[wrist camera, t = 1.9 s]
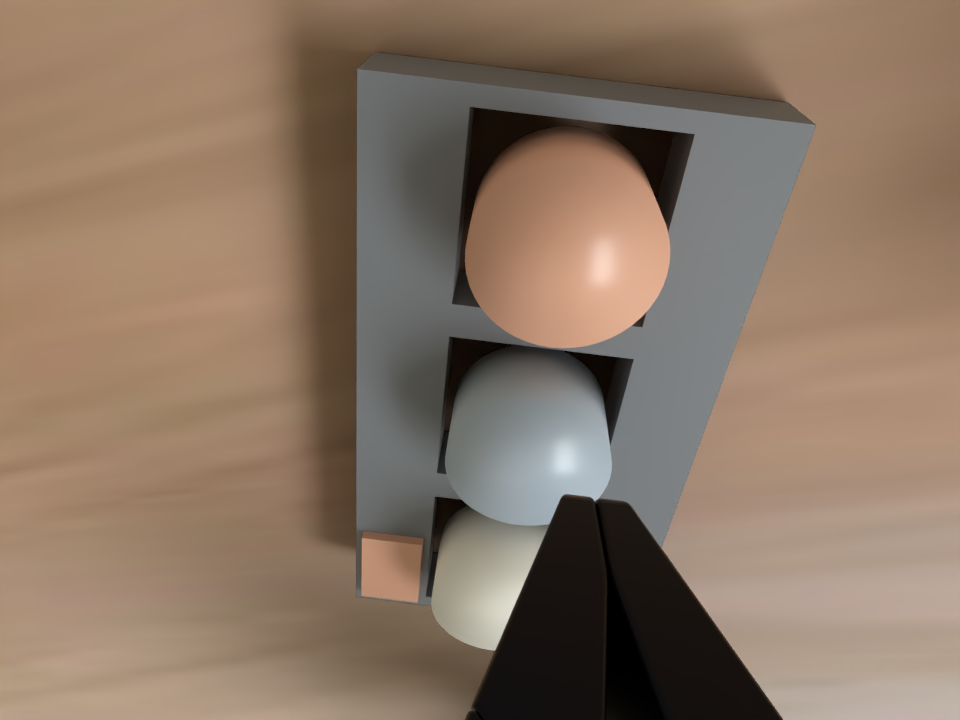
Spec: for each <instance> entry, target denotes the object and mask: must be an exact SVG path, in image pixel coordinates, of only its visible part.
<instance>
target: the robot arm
mask: <svg viewBox="0 0 960 720" xmlns="http://www.w3.org/2000/svg"><path fill="white" fill-rule="evenodd" d="M465 720H783V719H782V717H781V716H780V714H779V713H778V712H777V710H776V709H775V707H774V706H773V705H772V703H771V702H770V700H769V699H768V698H767V696H766V695H765V693H764V692H763V690H762V689H761V688H760V686H759V685H758V683H757V682H756V681H755V679H754V678H753V676H752V675H751V674H750V672H749V671H748V669H747V668H746V667H745V665H744V664H743V662H742V661H741V660H740V658H739V657H738V655H737V654H736V653H735V651H734V650H733V648H732V647H731V645H730V644H729V643H728V641H727V640H726V638H725V637H724V636H723V634H722V633H721V631H720V630H719V629H718V627H717V626H716V624H715V623H714V622H713V620H712V619H711V617H710V616H709V615H708V613H707V612H706V610H705V609H704V607H703V606H702V605H701V603H700V602H699V600H698V599H697V598H696V596H695V595H694V593H693V592H692V591H691V589H690V588H689V586H688V585H687V584H686V582H685V581H684V579H683V578H682V577H681V575H680V574H679V572H678V571H677V570H676V568H675V567H674V565H673V564H672V562H671V561H670V560H669V558H668V557H667V555H666V554H665V553H664V551H663V550H662V548H661V547H660V546H659V544H658V543H657V541H656V540H655V539H654V537H653V536H652V534H651V533H650V532H649V530H648V529H647V527H646V526H645V524H644V523H643V522H642V520H641V519H640V517H639V516H638V515H637V513H636V512H635V510H634V509H633V508H632V506H631V505H630V504H629V503H627V502H625V501H620V500H612V499H603V498H599V499H597V500H596V501H594V499H593V498H591V497H587V496H579V495H571V494H565V495H563V496H562V497H561V499H560V501H559V503H558V505H557V508H556V510H555V512H554V515H553V517H552V519H551V522H550V524H549V526H548V529H547V531H546V533H545V536H544V538H543V540H542V543H541V545H540V547H539V550H538V552H537V554H536V557H535V559H534V561H533V564H532V566H531V568H530V571H529V573H528V575H527V578H526V580H525V582H524V585H523V587H522V589H521V591H520V594H519V596H518V598H517V601H516V603H515V605H514V608H513V610H512V612H511V615H510V617H509V619H508V622H507V624H506V626H505V629H504V631H503V633H502V636H501V638H500V640H499V643H498V645H497V647H496V650H495V652H494V654H493V657H492V659H491V661H490V664H489V666H488V668H487V671H486V673H485V675H484V678H483V680H482V682H481V685H480V687H479V689H478V692H477V694H476V696H475V699H474V701H473V703H472V706H471V711H469V712H468V714H467V716H466V718H465Z"/></svg>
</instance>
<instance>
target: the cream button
mask: <svg viewBox="0 0 960 720" xmlns="http://www.w3.org/2000/svg"><path fill="white" fill-rule="evenodd" d="M548 526H549V524H547V525H538V526H524V525H514V524H508V523H504V522H500V521H497V520H494V519H492V518H489V517H487V516H485V515H483V514H481V513H479V512H477V511H476V510H474V509H472V508H471V507H470V506H468V505H467V506H465V507H463V508H461V509H460V510H458V511H457V512H456V513H454V514H453V515H452V516H451V517H450V518H449V519H448V520H447V522H446V524H445V525H444V527H443V530H442V534H441V539H440V546H439V552H438V559H437V566H436V572H435V579H434V585H433V592H432V599H431V607H432V612H433V615H434V617H435V619H436V620H437V622H438V624H439V625H440V626H441V627H442V628H443V629H444V630H445V631H446V632H447V633H449V634H450V635H451V636H453V637H454V638H456V639H458V640H460V641H462V642H464V643H466V644H468V645H471V646H474V647H478V648H482V649H486V650H492V651H495V650H496V647H497V645H498V643H499V640H500V638H501V636H502V633H503V631H504V629H505V626H506V624H507V622H508V619H509V617H510V615H511V612H512V610H513V608H514V605H515V603H516V601H517V598H518V596H519V594H520V591H521V589H522V587H523V585H524V582H525V580H526V578H527V575H528V573H529V571H530V568H531V566H532V564H533V561H534V559H535V557H536V554H537V552H538V550H539V547H540V545H541V543H542V540H543V538H544V536H545V533H546V531H547V529H548Z"/></svg>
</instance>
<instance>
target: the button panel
mask: <svg viewBox="0 0 960 720" xmlns="http://www.w3.org/2000/svg"><path fill="white" fill-rule="evenodd" d="M474 107H476V108H485V109H493V110H501V111H509V112H517V113H525V114H534V115H542V116H550V117H558V118H566V119H574V120H583V121H591V122H599V123H607V124H615V125H624V126H632V127H640V128H648V129H656V130H664V131H673V132H674V135H673V139H672V143H671V147H670V151H669V154H668V158H667V162H666V166H665V170H664V174H663V178H662V182H661V186H660V190H659V194H658V198H657V203H658V206H659V208H660V211H661V213H662V216H663V218H664V221H665V224H666V226H667V230H668V235H669V240H670V264H669V268H668V273H667V277H666V280H665V282H664V285H663V287H662V289H661V291H660V293H659V295H658V297H657V299H656V300H655V302H654V303H653V304H652V306H651V307H650V308H649V310H648V311H647V312H646V313H645V314H644V315H643V316H642V317H641V318H640V319H639V320H638V321H637V322H635V323H634V324H633V325H632V326H630V327H629V328H628V329H626V330H625V331H623V332H621V333H620V334H618V335H616V336H614V337H612V338H610V339H607V340H605V341H602V342H600V343H596V344H592V345H588V346H583V347H576V348H552V347H545V346H540V345H536V344H532V343H529V342H526V341H524V340H521V339H519V338H517V337H515V336H513V335H511V334H509V333H508V332H506V331H504V330H503V329H502V328H500V327H499V326H498V325H497V324H495V323H494V322H493V321H492V320H491V319H490V318H489V317H488V316H487V315H486V313H485V312H484V311H483V310H482V308H481V307H480V306H479V304H478V302H477V301H476V299H475V297H474V295H473V293H472V291H471V288H470V286H469V282H468V278H467V275H466V271H463V270H459V266H460V255H461V245H462V234H463V223H464V213H465V202H466V191H467V181H468V170H469V159H470V148H471V138H472V127H473V116H474ZM815 127H816V124H814V123H813V122H812V121H811V120H809V119H808V118H807V117H806V116H804V115H803V114H802V113H801V112H799V111H798V110H797V109H796V108H794V107H793V106H792V105H791V104H790V103H788V102H780V101H772V100H764V99H755V98H747V97H739V96H731V95H723V94H714V93H706V92H698V91H690V90H682V89H674V88H665V87H657V86H649V85H641V84H633V83H624V82H616V81H608V80H600V79H592V78H584V77H575V76H567V75H559V74H551V73H543V72H534V71H526V70H518V69H510V68H502V67H493V66H485V65H477V64H469V63H461V62H453V61H444V60H436V59H428V58H420V57H412V56H403V55H395V54H387V53H379V52H375V53H374V54H372V55H371V56H370V57H369V58H368V59H367V60H366V61H365V62H364V63H363V64H362V65H361V66H360V67H359V68H357V411H356V597H361V598H369V599H377V600H385V601H393V602H402V603H410V604H418V605H426V606H431V599H432V592H433V585H434V579H435V572H436V566H437V559H438V553H433V545H434V534H435V523H436V512H437V502H438V497H444V498H452V499H460V500H462V499H461V498H460V497H459V496H458V495H457V493H456V492H455V491H454V489H453V488H452V486H451V484H450V482H449V480H448V477H447V474H446V468H445V455H446V449H447V443H448V437H449V432H444V427H445V416H446V405H447V395H448V384H449V373H450V363H451V352H452V341H453V337H457V338H465V339H473V340H482V341H490V342H498V343H506V344H514V345H522V346H531V347H539V348H547V349H555V350H563V351H571V352H580V353H588V354H596V355H604V356H612V357H617V359H616V363H615V367H614V371H613V374H612V378H611V382H610V386H609V390H608V394H607V398H606V402H605V413H606V421H607V428H608V436H609V443H610V451H611V458H612V471H611V476H610V479H609V482H608V485H607V487H606V488H605V490H604V492H603V493H602V495H601V496H600V497H599V498H603V499H612V500H620V501H625V502H627V503H629V504H630V505H631V506H632V508H633V509H634V510H635V512H636V513H637V515H638V516H639V517H640V519H641V520H642V522H643V523H644V524H645V526H646V527H647V529H648V530H649V532H650V533H651V534H652V536H653V537H654V539H655V540H656V541H657V543H658V544H659V546H660V547H661V548H662V545H663V543H664V540H665V537H666V534H667V532H668V529H669V526H670V523H671V521H672V518H673V515H674V512H675V510H676V507H677V504H678V502H679V499H680V496H681V493H682V491H683V488H684V485H685V482H686V480H687V477H688V474H689V471H690V469H691V466H692V463H693V460H694V458H695V455H696V452H697V450H698V447H699V444H700V441H701V439H702V436H703V433H704V430H705V428H706V425H707V422H708V419H709V417H710V414H711V411H712V409H713V406H714V403H715V400H716V398H717V395H718V392H719V389H720V387H721V384H722V381H723V378H724V376H725V373H726V370H727V368H728V365H729V362H730V359H731V357H732V354H733V351H734V348H735V346H736V343H737V340H738V337H739V335H740V332H741V329H742V326H743V324H744V321H745V318H746V316H747V313H748V310H749V307H750V305H751V302H752V299H753V296H754V294H755V291H756V288H757V285H758V283H759V280H760V277H761V275H762V272H763V269H764V266H765V264H766V261H767V258H768V255H769V253H770V250H771V247H772V244H773V242H774V239H775V236H776V234H777V231H778V228H779V225H780V223H781V220H782V217H783V214H784V212H785V209H786V206H787V203H788V201H789V198H790V195H791V192H792V190H793V187H794V184H795V182H796V179H797V176H798V173H799V171H800V168H801V165H802V162H803V160H804V157H805V154H806V151H807V149H808V146H809V143H810V141H811V138H812V135H813V132H814V130H815ZM599 498H598V499H599Z"/></svg>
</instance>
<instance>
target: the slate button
mask: <svg viewBox="0 0 960 720" xmlns="http://www.w3.org/2000/svg"><path fill="white" fill-rule="evenodd" d="M445 468H446V474H447V477H448V480H449V482H450V484H451V486H452V488H453V489H454V491H455V492H456V493H457V495H458V496H459V497H460V498H461V499H462V500H463V501H464V502H465V503H466V504H467V505H468V506H470V507H471V508H472V509H474V510H476V511H477V512H479V513H481V514H483V515H485V516H487V517H489V518H492V519H494V520H497V521H500V522H504V523H508V524H514V525H524V526H538V525H547V524H550V522H551V519H552V517H553V515H554V512H555V510H556V508H557V505H558V503H559V501H560V499H561V497H562V496H563V495H565V494H571V495H579V496H587V497H591V498H593V499H594V501H596V500H597V499H598V498H599V497H600V496H601V495H602V493H603V492H604V490H605V488H606V487H607V485H608V482H609V479H610V476H611V471H612V458H611V451H610V443H609V436H608V428H607V421H606V413H605V406H604V399H603V393H602V390H601V387H600V385H599V383H598V381H597V379H596V377H595V376H594V375H593V373H592V372H591V371H590V370H589V369H588V368H587V367H586V366H585V365H584V364H583V363H582V362H581V361H579V360H578V359H577V358H575V357H573V356H571V355H570V354H568V353H565V352H563V351H561V350H555V349H547V348H539V347H531V346H522V345H516V346H510V347H506V348H502V349H499V350H496V351H494V352H491V353H489V354H487V355H486V356H484V357H482V358H481V359H479V360H478V361H477V362H475V363H474V364H473V365H472V366H471V367H470V368H469V369H468V370H467V371H466V373H465V374H464V375H463V377H462V379H461V380H460V382H459V385H458V387H457V390H456V395H455V401H454V407H453V413H452V419H451V425H450V431H449V437H448V443H447V449H446V455H445Z"/></svg>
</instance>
